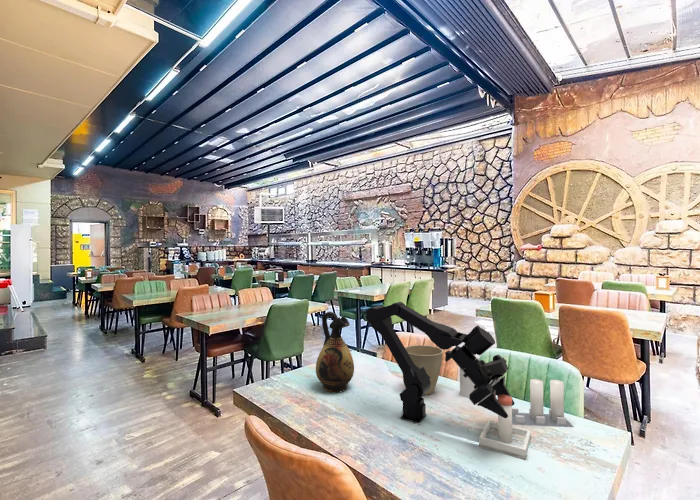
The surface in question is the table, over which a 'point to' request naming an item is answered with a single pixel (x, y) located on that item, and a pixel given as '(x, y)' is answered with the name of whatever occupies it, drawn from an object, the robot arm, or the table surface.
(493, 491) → the table surface
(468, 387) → the pill bottle
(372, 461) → the table surface
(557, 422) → the fuse panel
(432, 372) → the plant pot
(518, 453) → the tray
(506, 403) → the white cylinder orange top
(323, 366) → the ceramic jug
